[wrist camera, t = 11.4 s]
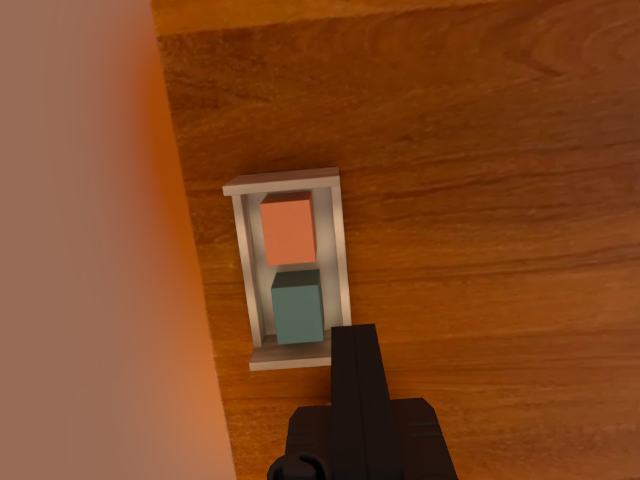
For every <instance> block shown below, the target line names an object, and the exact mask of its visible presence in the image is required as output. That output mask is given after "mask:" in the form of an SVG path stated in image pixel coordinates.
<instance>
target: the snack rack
mask: <svg viewBox="0 0 640 480" xmlns="http://www.w3.org/2000/svg"><path fill="white" fill-rule="evenodd" d="M222 188H223V195H224V196H231V197H232V203H233V210H234V217H235V224H236V231H237V237H238V244H239V251H240V258H241V265H242V271H243V278H244V285H245V292H246V299H247V305H248V312H249V319H250V326H251V333H252V339H253V346H254V350H253V353H252V356H251V359H250V362H249V367H250V371H257V370H271V369H285V368H300V367H314V366H329V365H331V327H336V326H350V325H352V322H351V310H350V298H349V285H348V273H347V261H346V249H345V237H344V225H343V212H342V200H341V188H340V175H339V167H327V168H316V169H305V170H294V171H283V172H272V173H261V174H250V175H239V176H237V177H235V178H234V179H232V180H231V181H229V182H228V183H227V184H225V185H224V186H222Z"/></svg>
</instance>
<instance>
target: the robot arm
mask: <svg viewBox="0 0 640 480" xmlns="http://www.w3.org/2000/svg"><path fill="white" fill-rule="evenodd" d="M267 480H458V478H457V475H456V472H455V469H454V466H453V463H452V460H451V457H450V455H449V452H448V449H447V446H446V443H445V440H444V437H443V436H442V431H441V428H440V425H439V423H438V419H437V417H436V414H435V411H434V408H433V407H432V406H431V405H430V404H428V403H427V402H426V401H425V400H424V399H423V398H410V399H394V400H390V398H389V393H388V388H387V383H386V378H385V373H384V368H383V363H382V358H381V353H380V348H379V343H378V338H377V333H376V328H375V324H363V325H350V326H336V327H331V405H322V406H307V407H298V408H297V410H296V411H295V412H294V414H293V415H292V417H291V418H290V420H289V427H288V435H287V442H286V449H285V455H284V456H282V457H280V458H278V459H277V460H276V461H275V462H274V463H273V464H272V465H271V466H270V469H269V471H268V473H267Z"/></svg>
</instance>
